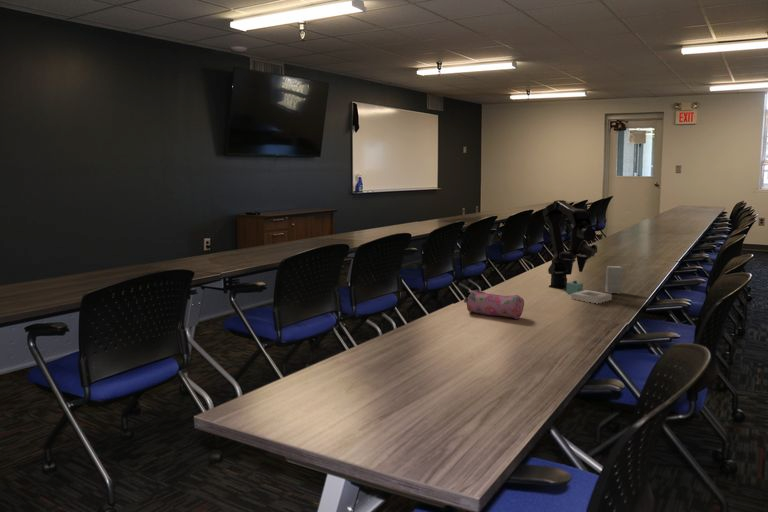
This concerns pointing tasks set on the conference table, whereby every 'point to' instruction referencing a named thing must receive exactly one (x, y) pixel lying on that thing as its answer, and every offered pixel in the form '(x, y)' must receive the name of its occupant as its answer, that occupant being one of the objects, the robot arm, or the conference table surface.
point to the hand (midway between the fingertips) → (575, 273)
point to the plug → (574, 287)
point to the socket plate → (591, 296)
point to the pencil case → (495, 304)
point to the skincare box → (613, 279)
